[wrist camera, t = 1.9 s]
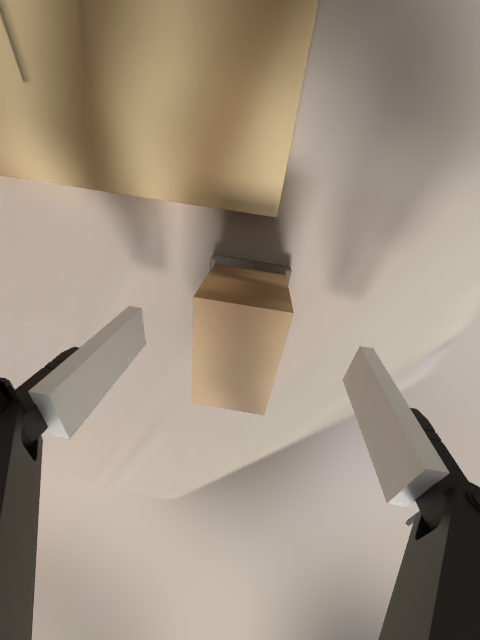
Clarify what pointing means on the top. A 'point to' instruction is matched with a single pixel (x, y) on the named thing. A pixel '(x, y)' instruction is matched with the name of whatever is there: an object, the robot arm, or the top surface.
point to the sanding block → (239, 333)
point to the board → (154, 96)
